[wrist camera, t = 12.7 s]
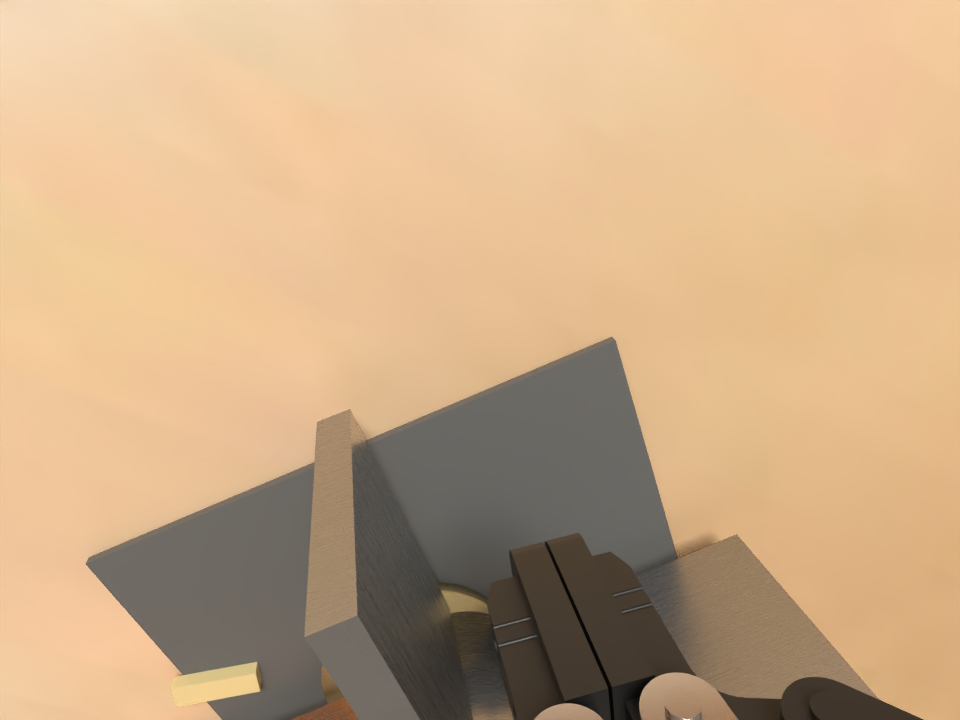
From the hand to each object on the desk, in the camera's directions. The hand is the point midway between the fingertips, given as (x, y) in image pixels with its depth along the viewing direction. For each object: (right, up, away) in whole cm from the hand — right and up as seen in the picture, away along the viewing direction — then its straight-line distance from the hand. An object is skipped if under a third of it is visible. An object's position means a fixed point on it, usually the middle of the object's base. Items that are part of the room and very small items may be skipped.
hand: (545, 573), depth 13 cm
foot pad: (-2, -6, +11) cm, 13 cm away
